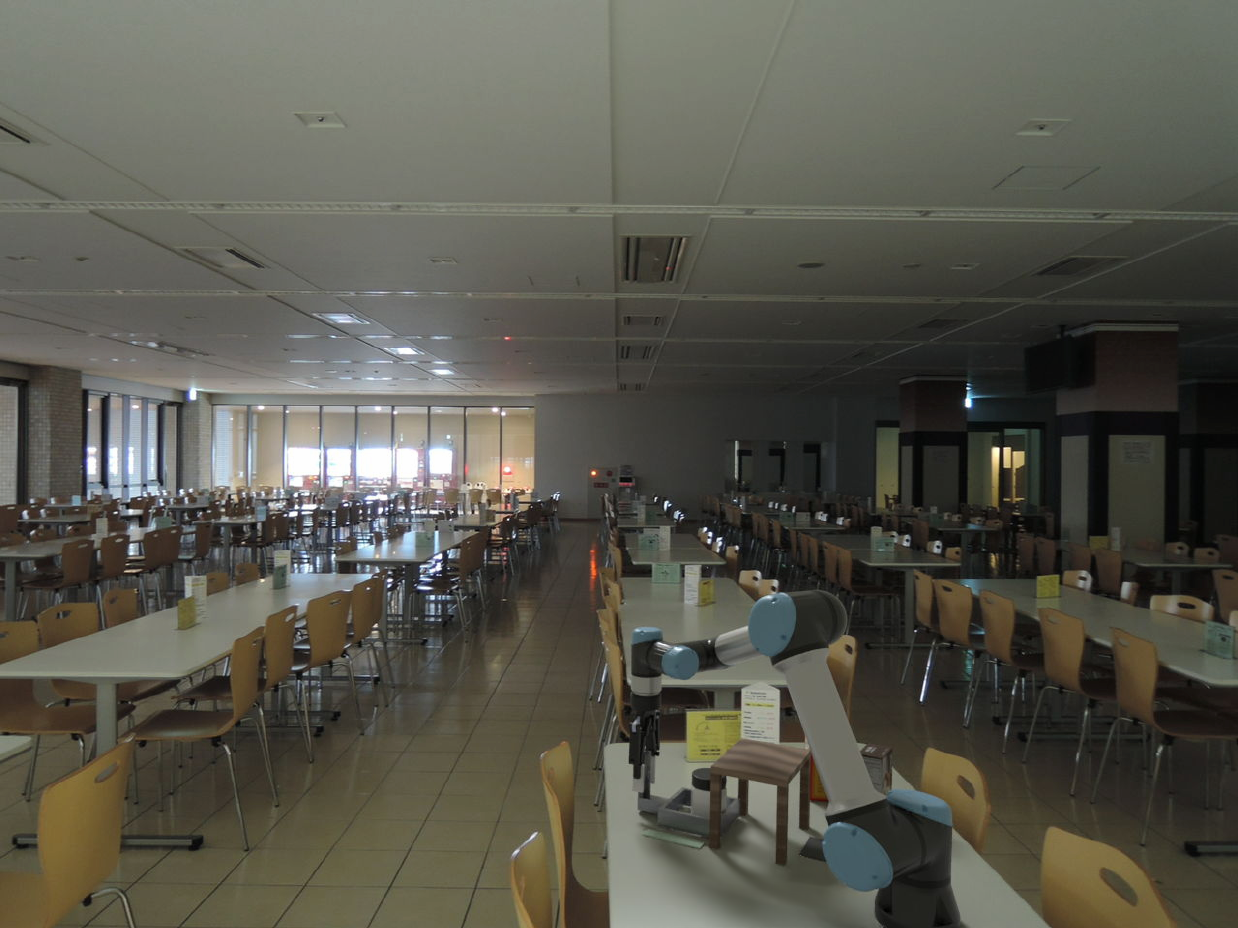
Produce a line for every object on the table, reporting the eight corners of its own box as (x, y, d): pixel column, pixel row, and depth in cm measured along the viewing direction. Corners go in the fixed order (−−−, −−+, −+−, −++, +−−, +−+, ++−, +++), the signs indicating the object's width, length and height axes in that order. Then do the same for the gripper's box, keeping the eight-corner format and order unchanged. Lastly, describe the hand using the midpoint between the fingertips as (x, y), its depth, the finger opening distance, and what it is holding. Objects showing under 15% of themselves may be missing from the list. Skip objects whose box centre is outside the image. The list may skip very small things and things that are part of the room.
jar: (703, 835, 188) (704, 782, 188) (682, 822, 195) (683, 771, 195) (734, 827, 193) (735, 776, 193) (712, 814, 200) (713, 764, 200)
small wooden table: (784, 865, 175) (786, 780, 175) (708, 847, 182) (710, 765, 182) (809, 826, 194) (810, 749, 195) (740, 811, 202) (741, 738, 202)
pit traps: (862, 870, 173) (862, 868, 173) (798, 855, 179) (798, 854, 179) (870, 850, 182) (870, 849, 182) (809, 837, 188) (809, 836, 188)
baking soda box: (803, 786, 219) (805, 726, 220) (828, 787, 219) (830, 727, 219) (808, 800, 210) (810, 737, 210) (834, 802, 209) (836, 738, 209)
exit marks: (700, 848, 182) (700, 847, 182) (642, 835, 188) (642, 833, 188) (736, 808, 204) (736, 807, 204) (683, 797, 210) (683, 796, 210)
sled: (719, 839, 185) (720, 777, 185) (624, 818, 195) (626, 758, 196) (740, 815, 198) (741, 757, 198) (650, 796, 209) (651, 740, 209)
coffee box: (865, 806, 207) (867, 742, 207) (892, 812, 204) (893, 747, 204) (855, 819, 199) (857, 752, 199) (882, 825, 196) (884, 757, 196)
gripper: (647, 681, 212) (645, 771, 212) (614, 698, 195) (612, 796, 195) (674, 685, 208) (672, 777, 208) (643, 703, 192) (641, 803, 191)
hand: (643, 786), depth 202 cm, fingers open, 6 cm apart
